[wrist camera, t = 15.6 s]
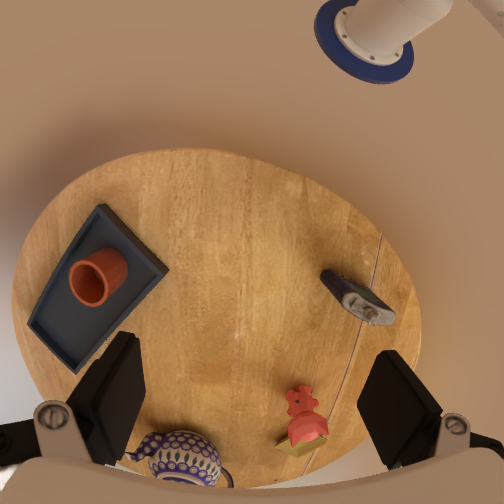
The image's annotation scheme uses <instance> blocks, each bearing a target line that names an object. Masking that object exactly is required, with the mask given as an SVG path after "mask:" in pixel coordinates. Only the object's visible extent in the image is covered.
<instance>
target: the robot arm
mask: <svg viewBox="0 0 504 504" xmlns="http://www.w3.org/2000/svg"><path fill="white" fill-rule="evenodd" d="M469 1H470V2H471V3H472V4H473V5H474V6H475V7H476V8H477V9H478V10H479V11H480V12H481V14H482V15H483V16H484V17H485V18H486V19H487V20H488V21H489V22H490V23H491V24H492V26H493V27H494V28H495V29H496V30H497V31H498V32H499V34H500V35H501V36H502V37H504V0H469ZM452 4H453V0H359V1H358V2H357V4H356V5H355V6H349V7H346V8H344V9H342V10H340V11H339V12H338V14H337V15H336V17H335V20H334V29H335V33H336V35H337V37H338V39H339V40H340V42H341V43H342V44H343V45H344V47H345V48H346V49H347V50H348V51H350V52H351V53H352V54H353V55H355V56H356V57H357V58H359V59H361V60H363V61H365V62H367V63H370V64H373V65H378V66H387V65H391V64H393V63H395V62H396V61H398V60H399V59H400V58H401V55H402V53H403V45H404V44H405V43H407V42H408V41H409V40H411V39H412V38H414V37H415V36H416V35H418V34H419V33H421V32H422V31H424V30H425V29H427V28H428V27H429V26H431V25H432V24H434V23H435V22H437V21H439V20H440V19H441V18H443V17H445V16H446V15H447V14H448V13H449V12H450V10H451V8H452ZM145 393H146V389H145V382H144V374H143V367H142V358H141V349H140V340H139V338H136V337H135V334H134V333H129V332H124V331H119V332H118V333H117V335H116V336H115V338H114V339H113V340H112V342H111V343H110V344H109V346H108V347H107V349H106V350H105V351H104V353H103V354H102V356H101V357H100V359H96V360H95V361H94V362H93V363H92V365H91V366H90V367H89V369H88V370H87V372H86V373H85V375H84V376H83V377H82V379H81V380H80V382H79V383H78V385H77V386H76V388H75V389H74V391H73V392H72V394H71V395H70V397H69V398H68V400H67V401H66V403H64V402H62V401H57V400H49V401H45V402H43V403H41V404H40V405H39V406H38V407H37V408H36V409H35V412H34V419H29V420H25V421H21V422H15V423H9V424H3V425H0V504H504V447H503V445H502V443H501V442H500V441H497V440H495V439H492V438H488V437H485V436H482V435H478V434H475V433H472V432H470V424H469V422H468V421H467V419H466V418H465V417H463V416H462V415H460V414H457V413H448V414H446V415H444V416H443V417H441V416H440V415H441V413H442V411H443V410H442V408H441V407H440V405H439V404H438V403H437V402H436V400H435V399H434V398H433V396H432V395H431V394H430V392H429V391H428V390H427V389H426V387H425V386H424V385H423V383H422V382H421V381H420V380H419V378H418V377H417V376H416V375H415V373H414V372H413V371H412V370H411V368H410V367H409V366H408V365H407V363H406V362H405V361H404V360H403V358H402V357H401V356H400V355H399V354H398V352H397V351H396V350H383V351H382V352H381V353H380V354H378V355H377V357H376V359H375V362H374V364H373V367H372V369H371V371H370V374H369V376H368V378H367V381H366V383H365V385H364V388H363V390H362V392H361V394H360V396H359V398H358V401H357V408H358V410H359V412H360V415H361V417H362V419H363V421H364V423H365V425H366V428H367V430H368V432H369V434H370V436H371V438H372V441H373V443H374V445H375V447H376V450H377V452H378V454H379V456H380V458H381V461H382V463H383V464H384V465H386V466H387V468H388V470H389V471H388V472H384V473H380V474H376V475H372V476H368V477H364V478H359V479H354V480H349V481H343V482H337V483H331V484H324V485H316V486H305V487H294V488H274V489H244V488H223V487H211V486H201V485H193V484H186V483H179V482H173V481H168V480H162V479H157V478H152V477H147V476H143V475H138V474H134V473H130V472H126V471H123V470H118V469H114V468H110V467H107V466H104V465H105V464H108V465H112V466H115V464H116V461H117V460H119V461H120V460H121V459H122V457H123V455H124V452H125V449H126V446H127V443H128V440H129V438H130V435H131V432H132V430H133V427H134V424H135V421H136V419H137V416H138V414H139V411H140V408H141V406H142V403H143V401H144V398H145ZM401 465H402V468H400V466H401ZM396 468H398V469H396ZM393 469H395V470H393ZM390 470H392V471H390Z"/></svg>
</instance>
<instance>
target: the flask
mask: <svg viewBox="0 0 504 504" xmlns="http://www.w3.org/2000/svg"><path fill="white" fill-rule="evenodd" d="M320 279H321V282H322V283H323V284H324V285H325V286H326V287H327V288H328V289H329V290H330V291H331V293H332V294H333V295H334V296H335V298H336V299H337V300H338V301H339V303H340V304H341V306H342V307H343V308H345V309H346V310H347V311H349V312H350V313H352V314H353V315H354V316H356V317H357V318H360V319H361V320H364V321H366V322H368V325H369V326H375V325H374V324H377V325H382V326H389V325H390V324H391V323H393V321H394V320H395V314H396V313H395V312H394V311H393V310H392V309H391V308H390V307H389V306H387V305H386V304H385V303H384V302H383V301H382V300H381V299H379V298H378V297H377V296H376V295H375V294H374V293H373V292H372V291H371V290H370V289H369V288H367V287H365V286H364V285H360V284H358V283H357V282H356V281H354V280H352V279H346V278H344V276H341V275H339V274H338V272H335V271H334V270H332V269H326V270H323V272H322V273H321V275H320ZM372 323H373V325H372Z"/></svg>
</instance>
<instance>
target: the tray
mask: <svg viewBox="0 0 504 504" xmlns="http://www.w3.org/2000/svg"><path fill="white" fill-rule="evenodd" d="M105 247H110V248H113V249H115V250H117V251H119V252H120V253H121V254H122V255H123V257H124V258H125V260H126V263H127V266H128V276H127V279H126V281H125V282H124V283H123V284H122V285H121V286H120V287H119V288H118V289H117V290H116V291H115V292H114V293H113V294H112V295H111V296H110V297H109V298H108V299H107V300H106V301H105V302H103V303H102V304H101V305H99V306H96V307H91V306H87V305H85V304H83V303H82V302H80V301H79V300H78V299H77V298H76V296H75V295H74V294H73V292H72V290H71V287H70V284H69V273H70V269H71V267H72V266H73V265H74V264H75V263H76V262H77V261H79V260H81V259H83V258H84V257H86V256H88V255H90V254H92V253H94V252H95V251H97V250H100V249H102V248H105ZM168 271H169V269H168V268H167V267H166V266H165V265H164V264H163V263H162V262H161V261H160V260H159V259H158V258H157V257H156V256H155V255H154V254H153V253H152V252H151V251H150V250H149V249H148V248H147V247H146V246H145V245H144V244H143V243H142V242H141V241H140V240H139V239H138V238H137V237H136V236H135V235H134V234H133V232H132V231H131V230H130V229H129V228H128V227H127V226H126V225H125V224H124V223H123V222H122V221H121V220H120V219H119V218H118V216H117V215H116V214H115V213H114V212H113V211H112V210H111V209H110V208H109V207H108V205H107V204H106V203H104V204H99V205H97V206H96V207H95V208H94V210H93V211H92V213H91V214H90V215H89V217H88V218H87V220H86V221H85V223H84V224H83V225H82V227H81V228H80V230H79V231H78V233H77V234H76V236H75V237H74V239H73V240H72V242H71V244H70V245H69V247H68V248H67V250H66V251H65V253H64V255H63V256H62V258H61V260H60V261H59V263H58V265H57V266H56V268H55V270H54V272H53V273H52V275H51V277H50V279H49V281H48V282H47V284H46V286H45V288H44V290H43V292H42V294H41V296H40V297H39V299H38V301H37V303H36V305H35V307H34V310H33V312H32V314H31V316H30V318H29V320H28V322H27V325H28V326H29V327H30V329H31V330H32V331H33V332H34V333H35V334H36V335H37V337H38V338H39V339H40V340H41V341H42V342H43V343H44V344H45V345H46V346H47V347H48V348H49V350H50V351H51V352H52V353H53V354H54V355H55V356H56V357H57V358H58V359H59V360H60V361H61V362H62V363H63V364H65V365H66V366H67V367H68V368H69V369H70V370H71V371H72V372H73V373H74V374H75V375H76V374H77V373H78V372H79V371H80V369H81V368H82V367H83V366H84V365H85V364H86V362H87V361H88V360H89V359H90V358H91V357H92V355H93V354H94V353H95V352H96V351H97V350H98V348H99V347H100V346H101V345H102V344H103V343H104V342H105V340H106V339H107V338H108V337H109V336H110V335H111V334H112V333H113V331H114V330H115V329H116V328H117V327H118V326H119V325H120V324H121V323H122V321H123V320H124V319H125V318H126V317H127V316H128V315H129V314H130V313H131V312H132V310H133V309H134V308H135V307H136V306H137V305H138V304H139V303H140V302H141V301H142V300H143V299H144V297H145V296H146V295H147V294H148V293H149V292H150V291H151V290H152V289H153V288H154V287H155V286H156V285H157V284H158V283H159V282H160V281H161V279H162V278H163V277H164V276H165V275H166V274H167V273H168Z"/></svg>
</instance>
